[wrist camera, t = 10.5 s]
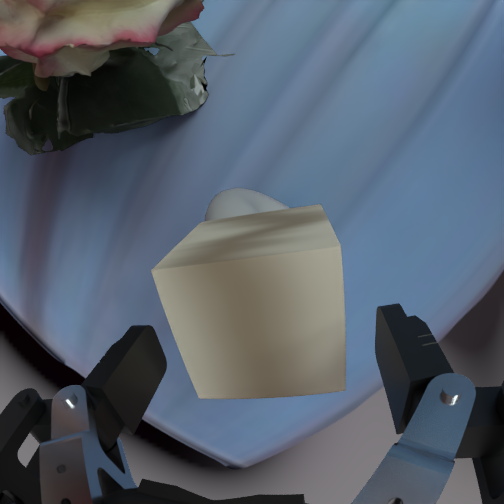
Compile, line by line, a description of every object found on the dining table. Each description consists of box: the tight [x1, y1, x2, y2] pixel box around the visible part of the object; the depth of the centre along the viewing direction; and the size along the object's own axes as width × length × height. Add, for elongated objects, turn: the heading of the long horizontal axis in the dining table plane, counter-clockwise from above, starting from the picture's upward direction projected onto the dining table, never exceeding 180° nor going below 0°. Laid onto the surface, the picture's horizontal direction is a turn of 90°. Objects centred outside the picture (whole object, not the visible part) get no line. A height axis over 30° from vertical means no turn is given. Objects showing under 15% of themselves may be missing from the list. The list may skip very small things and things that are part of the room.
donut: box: [205, 188, 289, 221], centre depth 20 cm, size 10×4×10 cm, turn 60°
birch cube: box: [151, 204, 346, 399], centre depth 13 cm, size 6×6×6 cm
